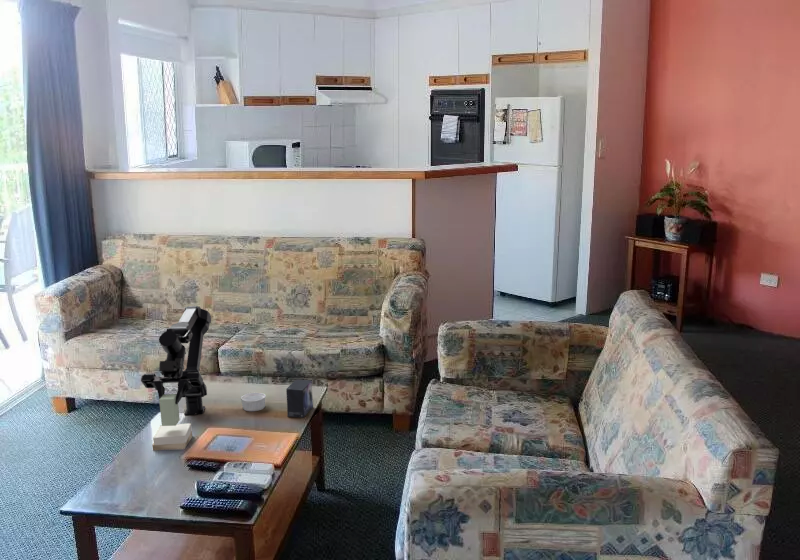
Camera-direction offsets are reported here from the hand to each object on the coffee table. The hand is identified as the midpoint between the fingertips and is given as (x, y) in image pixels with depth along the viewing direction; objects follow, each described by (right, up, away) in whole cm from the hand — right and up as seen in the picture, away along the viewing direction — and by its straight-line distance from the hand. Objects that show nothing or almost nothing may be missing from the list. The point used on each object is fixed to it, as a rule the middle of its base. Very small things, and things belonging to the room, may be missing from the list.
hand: (168, 404), depth 240 cm
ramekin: (+21, -7, +32) cm, 39 cm away
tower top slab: (+1, -11, +3) cm, 12 cm away
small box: (+39, -7, +26) cm, 47 cm away
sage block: (0, -6, +2) cm, 7 cm away
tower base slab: (0, -14, +3) cm, 14 cm away
